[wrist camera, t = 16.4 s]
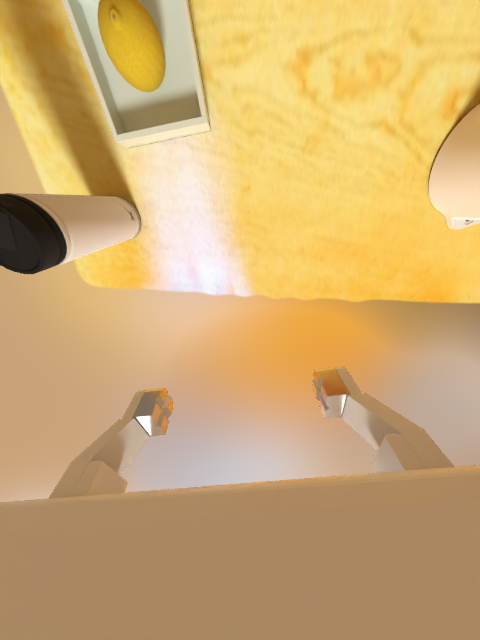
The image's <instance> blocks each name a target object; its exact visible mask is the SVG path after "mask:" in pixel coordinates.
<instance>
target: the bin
mask: <svg viewBox="0 0 480 640" xmlns="http://www.w3.org/2000/svg"><path fill="white" fill-rule="evenodd" d="M99 1H100V0H62V3H63V6H64V8H65V11H66V13H67V16H68V19H69V21H70V24H71V27H72V29H73V32H74V35H75V37H76V40H77V43H78V45H79V48H80V50H81V53H82V56H83V58H84V61H85V64H86V66H87V69H88V72H89V74H90V77H91V79H92V82H93V85H94V87H95V90H96V93H97V95H98V98H99V101H100V103H101V106H102V108H103V111H104V114H105V116H106V119H107V122H108V124H109V127H110V130H111V132H112V135H113V138H114V140H115V142H116V143H118V144H120V145H122V146H124V147H126V148H133V147H137V146H142V145H147V144H152V143H156V142H161V141H166V140H171V139H175V138H180V137H185V136H190V135H194V134H199V133H204V132H209V131H211V129H210V123H209V118H208V112H207V106H206V100H205V94H204V88H203V83H202V77H201V71H200V65H199V59H198V54H197V48H196V42H195V36H194V30H193V24H192V19H191V13H190V7H189V1H188V0H139V1H140V3H141V4H142V5H143V6H144V7H145V9H146V10H147V11H148V13H149V14H150V16H151V18H152V20H153V21H154V23H155V25H156V27H157V29H158V32H159V35H160V37H161V40H162V43H163V48H164V53H165V63H166V68H165V76H164V79H163V82H162V83H161V85H160V86H159V88H157V89H156V90H155V91H152V92H143V91H140V90H138V89H136V88H134V87H133V86H132V85H130V84H129V83H128V82H127V81H126V80H125V79H124V78H123V77H122V76H121V75H120V73H119V72H118V71H117V70H116V68H115V66H114V65H113V63H112V61H111V59H110V58H109V56H108V54H107V52H106V49H105V47H104V44H103V42H102V39H101V35H100V31H99V27H98V16H97V15H98V5H99Z"/></svg>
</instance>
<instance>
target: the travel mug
mask: <svg viewBox="0 0 480 640" xmlns="http://www.w3.org/2000/svg"><path fill="white" fill-rule="evenodd" d="M140 230H141V219H140V216H139V213H138V212H137V210H136V208H135V207H134V206H133V205H132V204H131V203H130V202H129V201H127V200H126V199H124V198H121V197H116V196H85V195H51V194H12V193H6V194H0V265H2V266H3V267H5V268H7V269H9V270H12V271H14V272H19V273H23V274H35V273H37V272H40V271H43V270H46V269H48V268H51V267H56V266H58V265H61V264H64V263H67V262H69V261H72V260H75V259H77V258H80V257H83V256H86V255H88V254H91V253H94V252H97V251H99V250H102V249H105V248H107V247H110V246H113V245H116V244H118V243H121V242H124V241H126V240H129V239H132V238H134V237H136V236H137V235H138V234H139V232H140Z"/></svg>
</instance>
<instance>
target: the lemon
mask: <svg viewBox="0 0 480 640" xmlns="http://www.w3.org/2000/svg"><path fill="white" fill-rule="evenodd" d="M97 16H98V27H99V31H100V35H101V39H102V42H103V44H104V47H105V49H106V52H107V54H108V56H109V58H110V59H111V61H112V63H113V65H114V66H115V68H116V70H117V71H118V72H119V73H120V75H121V76H122V77H123V78H124V79H125V80H126V81H127V82H128V83H129V84H130V85H132V86H133V87H134V88H136V89H138V90H140V91H143V92H152V91H155V90H156V89H157V88H159V86H160V85H161V83H162V82H163V79H164V76H165V68H166V63H165V53H164V48H163V43H162V40H161V37H160V35H159V32H158V29H157V27H156V25H155V23H154V21H153V20H152V18H151V16H150V14H149V13H148V11H147V10H146V9H145V7H144V6H143V5H142V4H141V3H140V1H139V0H100V1H99V5H98V15H97Z"/></svg>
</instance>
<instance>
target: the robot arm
mask: <svg viewBox="0 0 480 640" xmlns="http://www.w3.org/2000/svg"><path fill="white" fill-rule="evenodd" d="M429 196H430V200H431V202H432V204H433V206H434V207H435V208H436V209H437V210H438V211H439V212H441V213H442V214H443V215H444V216H445V218H446V222H447V226H448V227H449V228H450V229H461V228H465V227H468V226H471V225H474V224H477V223H480V103H479V104H478V105H477V106H476V107H475V108H473V109H472V110H471V111H470V112H469V113H468V114H467V115H466V116H465V117H464V118H463V119H462V120H461V121H460V122H459V123H458V125H457V126H456V127H455V128H454V129H453V131H452V132H451V133H450V135H449V136H448V138H447V139H446V141H445V142H444V144H443V146H442V147H441V149H440V151H439V153H438V155H437V157H436V159H435V162H434V164H433V167H432V171H431V174H430V180H429ZM313 376H314V378H315V379H314V380H313V384H312V385H313V391H314V394H315V397H316V399H318V400H319V401H320V405H319V407H320V409H321V411H322V414H323V416H324V418H325V419H327V418H339V417H340V418H341V417H342V419H343V420H344V421H345V422H346V423H348V424H349V425H350V426H351V427H352V428H353V429H354V430H355V431H356V432H357V433H358V434H359V435H361V436H362V437H363V438H364V439H365V440H366V441H367V442H368V443H369V444H370V445H371V446H373V447H374V448H375V449H376V450H377V453H376V456H375V457H374V459H373V461H372V465H373V467H374V469H375V471H376V473H368V474H356V475H342V476H330V477H317V478H304V479H292V480H279V481H266V482H253V483H242V484H241V483H240V484H228V485H216V486H203V487H189V488H178V489H164V490H151V491H139V492H126V493H124V492H125V490H126V487H127V484H128V483H127V480H126V479H124V478H123V477H122V476H120V475H121V474H122V473H123V472H124V470H125V469H126V468H127V466H128V465H129V464H130V463H131V461H132V460H133V459H134V458H135V456H136V455H137V454H138V452H139V451H140V450H141V449H142V447H143V446H144V444H145V443H146V442H147V441H148V440H149V438H150V436H157V435H165V434H166V431H167V427H168V424H169V420H168V417H169V416H170V415H171V414H172V411H173V400H172V398H171V396H168V395H167V394H168V391H167V389H166V388H161V389H149V390H139V391H137V392H136V393H135V395H134V397H133V399H132V401H131V403H130V405H129V407H128V408H127V410H126V412H125V414H124V416H123V418H122V419H119V420H118V421H117V422H116V423H115V424H114V425H112V426H111V427H110V428H109V429H108V430H107V431H106V432H105V433H104V434H102V435H101V436H100V437H99V438H98V439H97V440H96V441H94V442H93V443H92V444H91V445H90V446H89V447H88V448H87V449H86V450H85V451H83V452H82V453H81V454H80V455H79V456H78V457H77V458H75V459H74V460H73V461H72V462H71V464H70V465H69V467H68V469H67V470H66V472H65V473H64V475H63V477H62V478H61V480H60V481H59V483H58V484H57V486H56V487H55V489H54V491H53V492H52V494H51V495H50V497H49V498H48V499H37V500H25V501H13V502H0V640H480V465H470V466H458V467H454V466H453V465H452V463H451V462H450V461H449V459H448V458H447V457H446V456H445V455H444V454H443V452H442V451H441V450H440V448H439V447H438V446H437V445H436V444H435V442H434V441H433V440H432V439H431V437H430V436H429V435H428V434H427V433H426V431H425V430H424V429H422V428H421V427H419V426H417V425H416V424H414V423H412V422H411V421H409V420H408V419H406V418H405V417H403V416H402V415H400V414H398V413H397V412H395V411H394V410H392V409H390V408H389V407H387V406H386V405H384V404H382V403H381V402H379V401H378V400H376V399H374V398H373V397H371V396H370V395H368V394H366V393H362V392H361V390H360V389H359V387H358V386H357V384H356V383H355V381H354V380H353V378H352V377H351V375H350V374H349V372H348V371H347V369H346V368H345V367H335V368H327V369H318V370H314V372H313Z"/></svg>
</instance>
